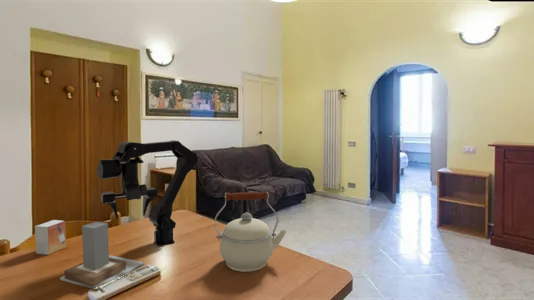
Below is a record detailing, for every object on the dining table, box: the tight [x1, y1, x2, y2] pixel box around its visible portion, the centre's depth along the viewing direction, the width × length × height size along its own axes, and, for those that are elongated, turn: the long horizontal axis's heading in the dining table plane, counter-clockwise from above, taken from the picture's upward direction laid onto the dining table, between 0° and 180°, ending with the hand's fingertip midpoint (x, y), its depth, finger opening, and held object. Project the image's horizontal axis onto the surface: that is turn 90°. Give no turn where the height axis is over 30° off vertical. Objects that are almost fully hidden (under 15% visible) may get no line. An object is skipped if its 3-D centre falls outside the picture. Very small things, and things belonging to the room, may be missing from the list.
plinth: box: [59, 254, 145, 290], centre depth 102 cm, size 18×16×4 cm
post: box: [81, 221, 110, 270], centre depth 99 cm, size 5×5×13 cm
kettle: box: [214, 191, 288, 273], centre depth 109 cm, size 25×18×25 cm
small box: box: [34, 219, 67, 256], centre depth 118 cm, size 8×6×10 cm
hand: (130, 217), depth 117 cm, fingers open, 9 cm apart
